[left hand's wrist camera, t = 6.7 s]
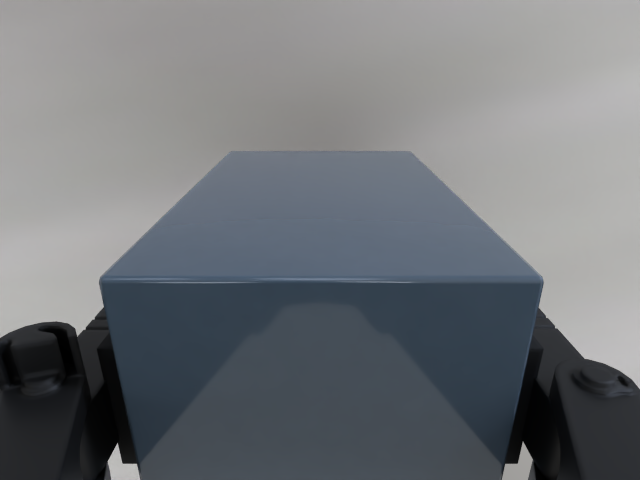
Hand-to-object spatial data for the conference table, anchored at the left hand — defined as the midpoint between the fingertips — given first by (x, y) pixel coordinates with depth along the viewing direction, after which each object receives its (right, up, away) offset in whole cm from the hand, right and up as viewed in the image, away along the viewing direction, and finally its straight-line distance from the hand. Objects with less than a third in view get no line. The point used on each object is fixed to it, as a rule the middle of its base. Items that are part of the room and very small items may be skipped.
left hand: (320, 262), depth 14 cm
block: (0, +1, +2) cm, 2 cm away
